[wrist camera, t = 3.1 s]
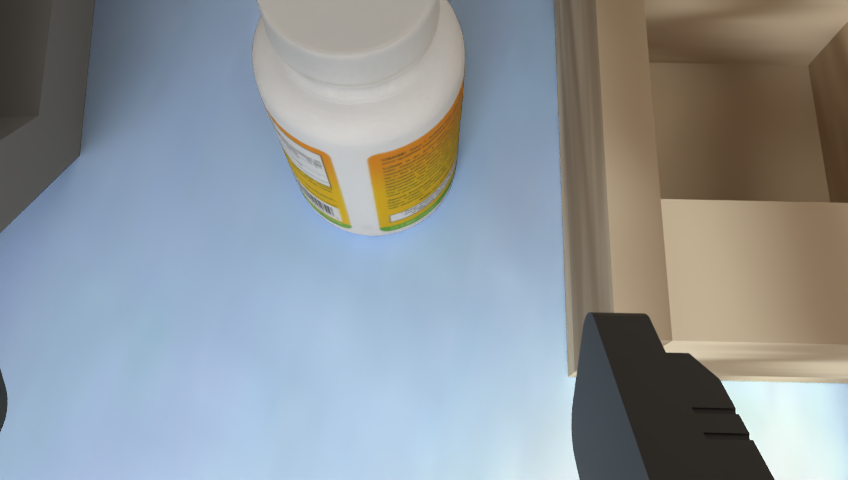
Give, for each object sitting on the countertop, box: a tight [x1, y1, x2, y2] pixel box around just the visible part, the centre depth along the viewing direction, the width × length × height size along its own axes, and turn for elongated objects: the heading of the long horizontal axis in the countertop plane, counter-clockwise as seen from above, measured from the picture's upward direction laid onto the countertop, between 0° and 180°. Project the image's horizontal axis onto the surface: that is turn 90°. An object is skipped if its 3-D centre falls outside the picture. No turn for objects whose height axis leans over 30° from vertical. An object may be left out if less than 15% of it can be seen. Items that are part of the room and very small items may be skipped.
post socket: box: [554, 0, 848, 383], centre depth 22 cm, size 10×14×6 cm
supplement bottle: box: [252, 0, 465, 236], centre depth 20 cm, size 5×5×10 cm
